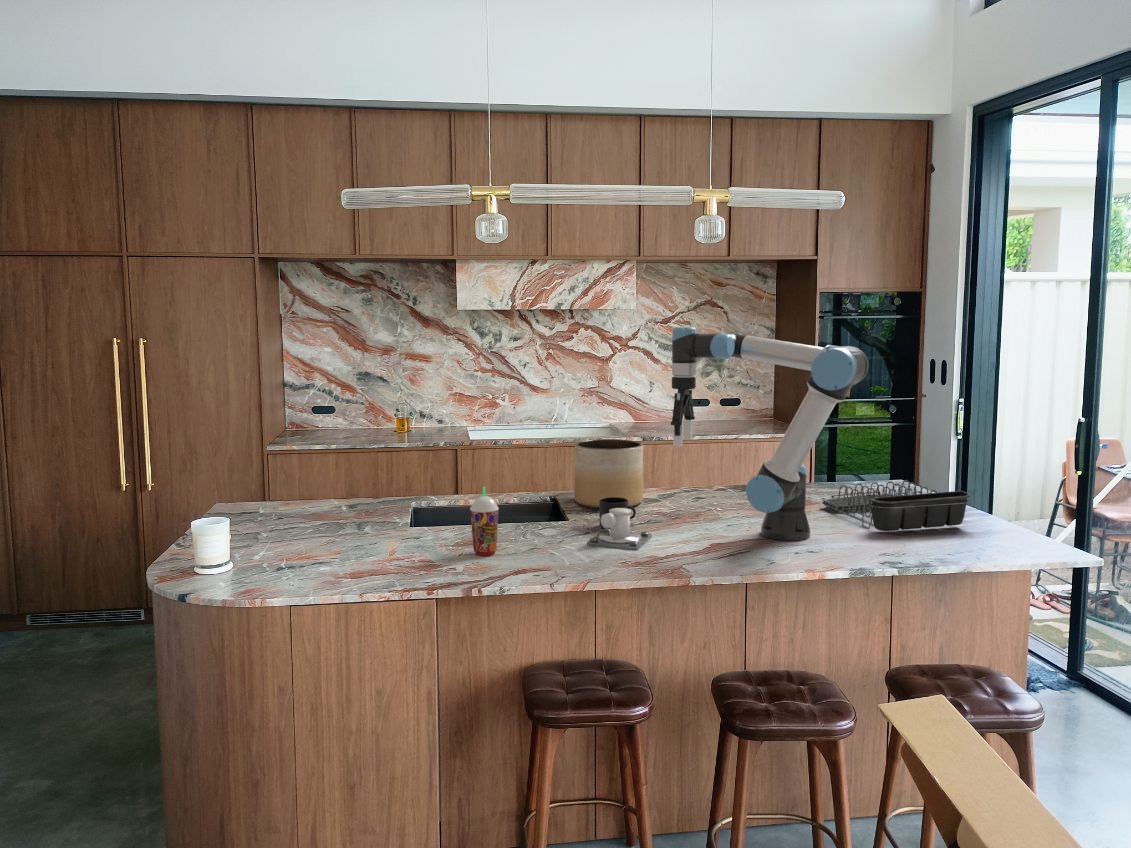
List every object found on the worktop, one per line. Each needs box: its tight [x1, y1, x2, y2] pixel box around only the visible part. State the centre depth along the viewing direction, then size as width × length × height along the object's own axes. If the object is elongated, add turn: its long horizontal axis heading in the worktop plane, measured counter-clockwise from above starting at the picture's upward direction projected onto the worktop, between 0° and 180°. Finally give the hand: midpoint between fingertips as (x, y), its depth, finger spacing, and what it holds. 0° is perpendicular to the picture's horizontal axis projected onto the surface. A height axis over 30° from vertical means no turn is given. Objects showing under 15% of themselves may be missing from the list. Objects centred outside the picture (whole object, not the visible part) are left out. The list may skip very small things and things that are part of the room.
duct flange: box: [586, 528, 653, 551], centre depth 275 cm, size 16×16×2 cm
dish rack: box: [821, 479, 971, 532], centre depth 303 cm, size 34×44×12 cm
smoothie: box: [469, 486, 500, 557], centre depth 260 cm, size 8×8×20 cm
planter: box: [573, 438, 644, 510], centre depth 328 cm, size 25×25×22 cm
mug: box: [598, 497, 637, 530], centre depth 292 cm, size 9×12×9 cm
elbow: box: [601, 508, 632, 539], centre depth 273 cm, size 9×7×8 cm
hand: (682, 442), depth 283 cm, fingers open, 13 cm apart
